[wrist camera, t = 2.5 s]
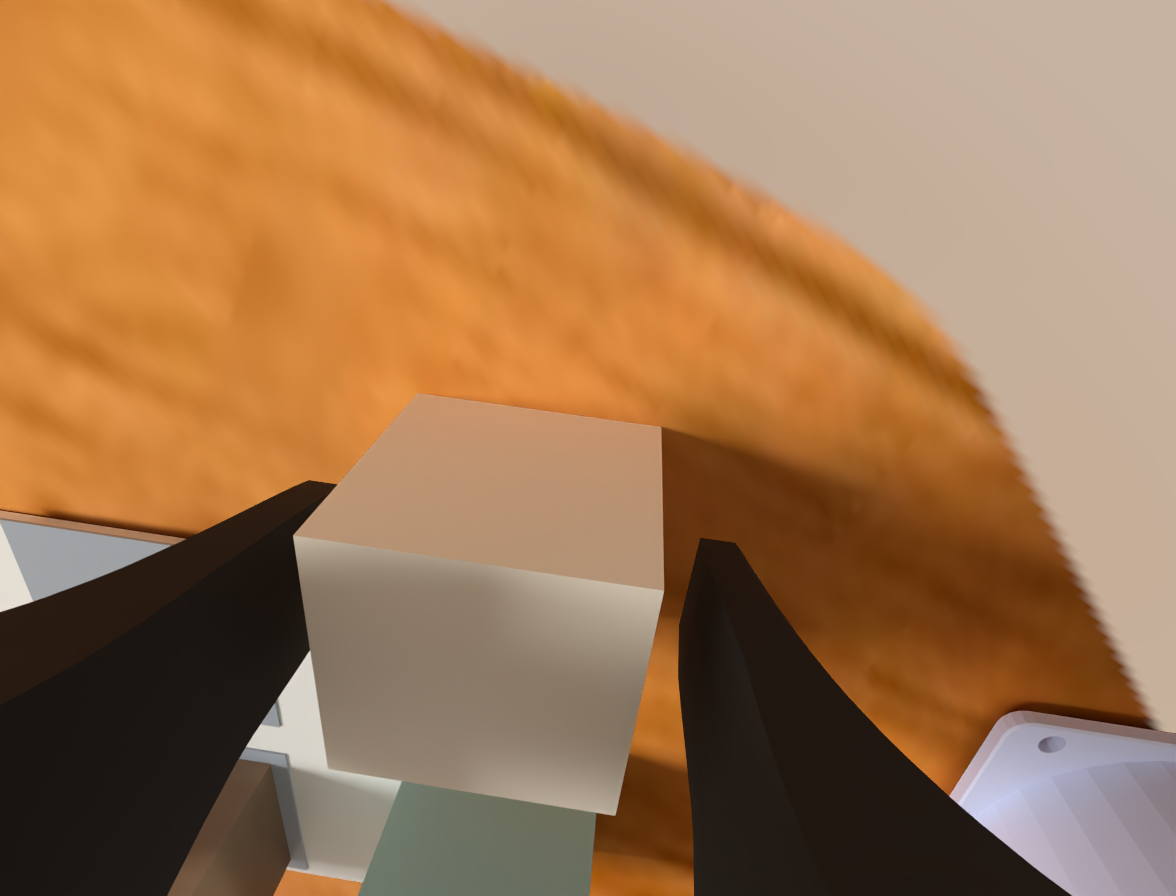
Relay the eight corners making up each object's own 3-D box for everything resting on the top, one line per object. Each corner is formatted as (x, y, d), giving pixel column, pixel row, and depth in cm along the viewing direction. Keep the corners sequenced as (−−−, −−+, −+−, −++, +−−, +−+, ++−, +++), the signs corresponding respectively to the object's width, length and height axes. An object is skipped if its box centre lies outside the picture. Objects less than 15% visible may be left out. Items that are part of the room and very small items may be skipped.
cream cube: (661, 425, 11) (664, 590, 7) (627, 610, 13) (615, 815, 9) (419, 391, 11) (293, 535, 7) (424, 579, 14) (327, 768, 10)
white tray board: (410, 565, 13) (401, 580, 13) (420, 875, 19) (415, 893, 19) (-37, 498, 14) (-60, 510, 13) (108, 823, 19) (95, 839, 19)
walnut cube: (270, 763, 16) (145, 972, 12) (290, 859, 18) (189, 1063, 14) (104, 736, 16) (-71, 934, 12) (144, 834, 18) (4, 1029, 14)
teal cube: (602, 744, 16) (584, 957, 12) (583, 845, 18) (562, 1055, 14) (426, 716, 16) (349, 917, 12) (428, 820, 18) (364, 1020, 14)
